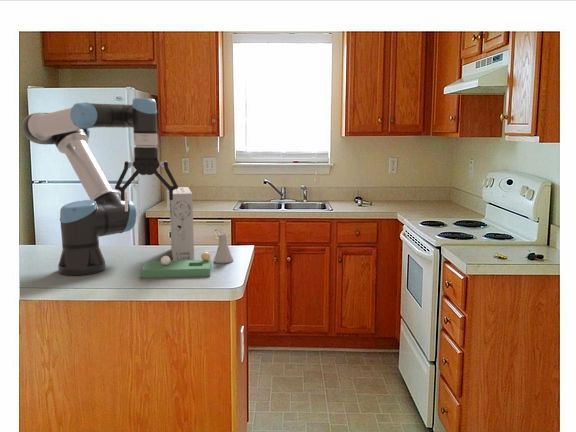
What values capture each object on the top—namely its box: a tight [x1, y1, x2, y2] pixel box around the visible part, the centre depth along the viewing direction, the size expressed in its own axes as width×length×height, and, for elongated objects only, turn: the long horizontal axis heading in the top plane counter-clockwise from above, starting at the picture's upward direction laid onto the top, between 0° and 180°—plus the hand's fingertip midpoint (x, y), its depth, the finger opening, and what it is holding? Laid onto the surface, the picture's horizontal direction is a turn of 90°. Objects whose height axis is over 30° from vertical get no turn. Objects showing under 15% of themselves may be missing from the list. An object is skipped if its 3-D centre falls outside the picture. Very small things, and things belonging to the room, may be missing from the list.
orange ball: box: [200, 251, 212, 261], centre depth 183 cm, size 3×3×3 cm
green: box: [141, 259, 213, 279], centre depth 178 cm, size 22×12×2 cm, turn 96°
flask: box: [213, 233, 234, 264], centre depth 192 cm, size 7×7×10 cm
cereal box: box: [169, 186, 195, 261], centre depth 201 cm, size 22×8×25 cm, turn 14°
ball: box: [160, 255, 171, 265], centre depth 178 cm, size 3×3×3 cm
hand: (147, 210), depth 177 cm, fingers open, 13 cm apart
